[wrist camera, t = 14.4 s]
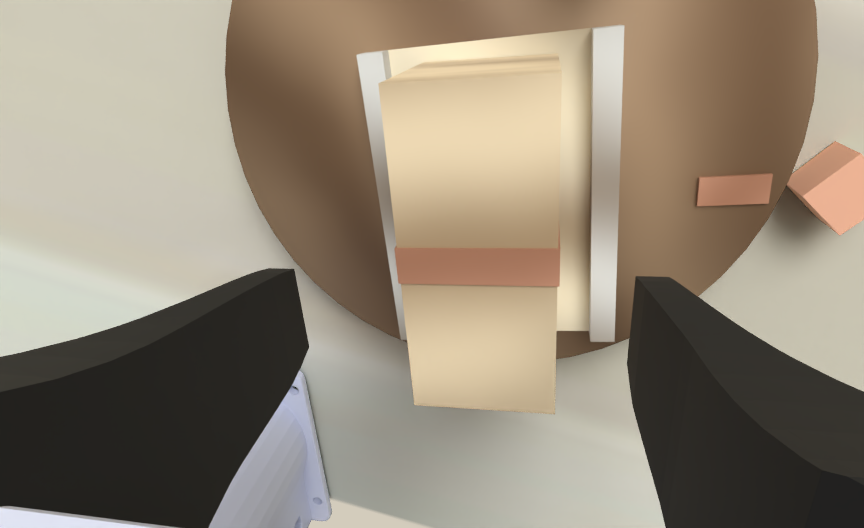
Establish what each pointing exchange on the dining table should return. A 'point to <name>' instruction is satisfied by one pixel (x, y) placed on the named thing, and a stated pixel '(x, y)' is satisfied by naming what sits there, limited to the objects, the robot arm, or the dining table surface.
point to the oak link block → (477, 227)
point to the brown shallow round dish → (579, 144)
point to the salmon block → (832, 187)
